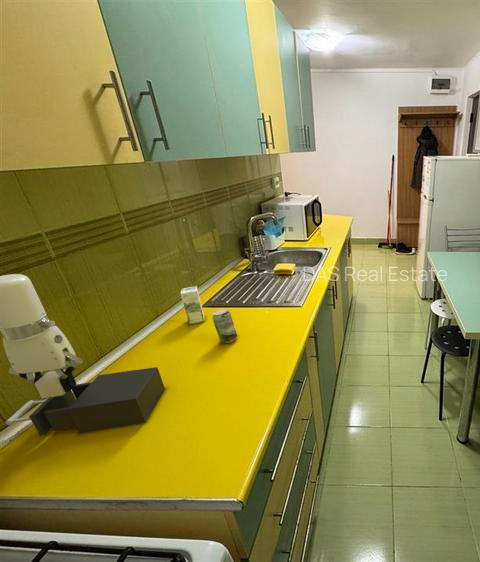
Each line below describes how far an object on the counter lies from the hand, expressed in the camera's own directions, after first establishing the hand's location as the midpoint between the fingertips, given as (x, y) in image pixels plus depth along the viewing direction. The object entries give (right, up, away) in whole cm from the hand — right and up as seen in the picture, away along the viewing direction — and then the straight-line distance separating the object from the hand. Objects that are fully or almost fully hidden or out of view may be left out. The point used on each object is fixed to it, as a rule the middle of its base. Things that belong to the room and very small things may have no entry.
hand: (58, 389), depth 77 cm
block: (0, 0, 0) cm, 0 cm away
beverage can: (+25, +5, +37) cm, 45 cm away
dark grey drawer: (0, -8, +3) cm, 9 cm away
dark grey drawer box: (+12, -8, +6) cm, 16 cm away
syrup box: (+5, +11, +51) cm, 53 cm away
